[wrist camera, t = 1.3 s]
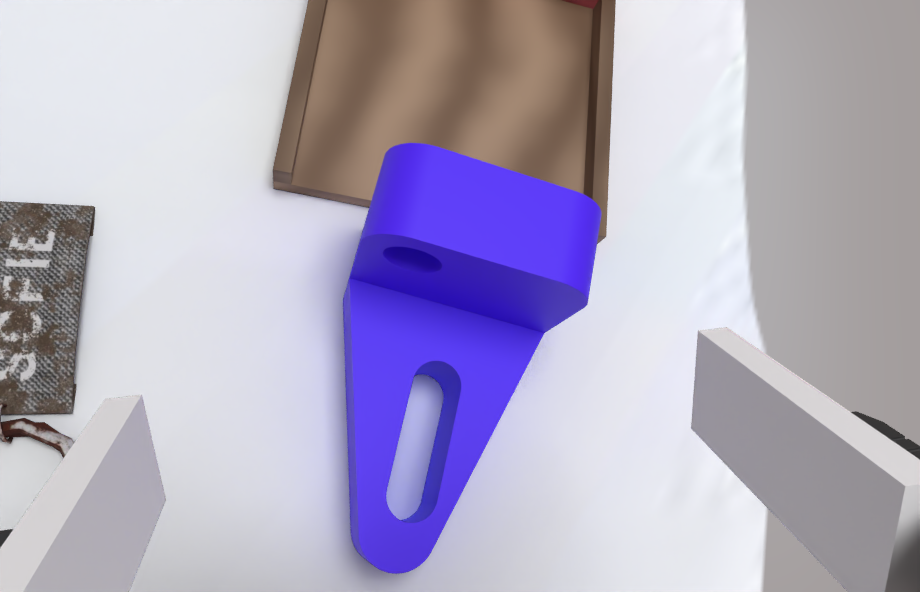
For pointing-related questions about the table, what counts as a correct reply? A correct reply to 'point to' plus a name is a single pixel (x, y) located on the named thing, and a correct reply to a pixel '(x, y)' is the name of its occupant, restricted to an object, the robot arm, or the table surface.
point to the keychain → (40, 313)
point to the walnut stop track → (450, 91)
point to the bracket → (449, 322)
